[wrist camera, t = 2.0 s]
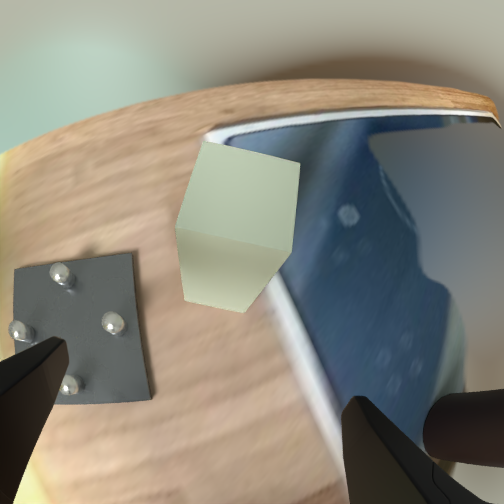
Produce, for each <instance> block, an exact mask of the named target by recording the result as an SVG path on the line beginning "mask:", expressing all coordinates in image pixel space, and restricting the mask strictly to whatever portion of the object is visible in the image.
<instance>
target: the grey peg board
mask: <svg viewBox="0 0 504 504" xmlns="http://www.w3.org/2000/svg"><path fill="white" fill-rule="evenodd" d="M13 313H14V321H12V322H11V323H10V325H9V334H10V336H11V337H12V338H13V339H14V341H15V354H17V353H19V352H21V351H23V350H25V349H27V348H29V347H31V346H33V345H36V344H38V343H40V342H42V341H44V340H46V339H48V338H50V337H52V336H57V337H60V338H62V339H64V340H65V341H66V343H67V348H68V354H69V365H68V368H67V371H66V373H65V376H64V379H63V381H62V384H61V387H60V390H59V392H58V395H57V398H56V401H55V403H54V404H104V403H121V402H134V401H146V400H151V399H152V398H151V393H150V388H149V382H148V377H147V371H146V366H145V360H144V353H143V347H142V340H141V333H140V325H139V317H138V309H137V300H136V290H135V279H134V266H133V255H132V253H127V254H119V255H112V256H104V257H97V258H90V259H83V260H75V261H68V262H56V263H54V264H47V265H40V266H34V267H27V268H20V269H15V271H14V299H13Z"/></svg>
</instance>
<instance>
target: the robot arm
mask: <svg viewBox="0 0 504 504" xmlns="http://www.w3.org/2000/svg"><path fill="white" fill-rule="evenodd" d="M68 365H69V354H68V348H67V343H66V341H65V340H64V339H62V338H60V337H57V336H52V337H50V338H48V339H46V340H44V341H42V342H40V343H38V344H36V345H33V346H31V347H29V348H27V349H25V350H23V351H21V352H19V353H17V354H15V355H13V356H11V357H9V358H7V359H5V360H3V361H1V362H0V504H13V501H14V499H15V496H16V493H17V491H18V488H19V485H20V482H21V480H22V477H23V474H24V472H25V469H26V467H27V464H28V462H29V459H30V457H31V454H32V452H33V450H34V447H35V445H36V443H37V440H38V438H39V436H40V434H41V431H42V429H43V427H44V425H45V423H46V420H47V418H48V416H49V414H50V412H51V410H52V408H53V406H54V403H55V401H56V398H57V395H58V392H59V390H60V387H61V384H62V381H63V379H64V376H65V373H66V371H67V368H68ZM341 423H342V444H343V459H344V466H345V472H346V479H347V486H348V493H349V500H350V504H492V503H488V502H485V501H483V500H481V499H480V498H478V497H477V496H476V495H474V494H473V493H471V492H470V491H469V490H467V489H465V487H463V486H462V485H461V484H459V483H458V482H457V481H455V480H454V479H453V478H452V477H450V476H449V475H448V474H447V473H446V472H445V471H444V470H442V469H441V468H440V467H439V466H438V465H437V464H436V463H435V462H433V461H432V460H431V459H430V458H429V457H428V456H427V455H426V454H425V453H424V452H423V451H422V450H421V449H420V448H419V447H418V446H417V445H416V444H415V443H413V442H412V441H411V440H410V439H409V438H408V437H407V436H406V435H405V434H404V433H403V432H402V431H401V430H400V429H399V428H398V427H397V426H396V425H395V424H394V423H393V422H392V421H390V420H389V419H388V418H387V417H386V416H385V415H384V414H383V413H382V412H381V411H380V410H379V409H378V408H377V407H376V406H375V405H374V404H373V403H372V402H371V401H370V400H369V399H368V398H367V397H365V396H353V397H352V398H351V399H350V401H349V402H348V404H347V405H346V407H345V408H344V410H343V412H342V415H341Z"/></svg>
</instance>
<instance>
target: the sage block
mask: <svg viewBox="0 0 504 504" xmlns="http://www.w3.org/2000/svg"><path fill="white" fill-rule="evenodd" d="M299 173H300V163H297V162H293V161H289V160H285V159H281V158H278V157H274V156H270V155H265V154H261V153H257V152H253V151H249V150H244V149H240V148H235V147H231V146H226V145H221V144H216V143H211V142H206V141H203V144H202V147H201V150H200V152H199V155H198V158H197V161H196V164H195V167H194V170H193V172H192V175H191V178H190V181H189V184H188V187H187V190H186V193H185V197H184V200H183V203H182V206H181V209H180V212H179V216H178V219H177V222H176V225H175V232H176V240H177V248H178V256H179V264H180V271H181V278H182V285H183V292H184V298H185V301H188V302H193V303H197V304H202V305H206V306H211V307H216V308H221V309H226V310H231V311H236V312H241V313H245V311H246V310H247V309H248V308H249V306H250V305H251V304H252V303H253V301H254V300H255V299H256V298H257V296H258V295H259V294H260V293H261V291H262V290H263V289H264V287H265V286H266V285H267V284H268V282H269V281H270V280H271V278H272V277H273V276H274V275H275V273H276V272H277V271H278V269H279V268H280V267H281V266H282V264H283V263H284V262H285V260H286V259H287V258H288V256H289V255H290V254H291V252H292V244H293V234H294V225H295V215H296V205H297V195H298V184H299Z"/></svg>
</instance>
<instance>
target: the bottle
mask: <svg viewBox="0 0 504 504" xmlns="http://www.w3.org/2000/svg"><path fill="white" fill-rule="evenodd" d="M423 443H424V446H425V449H426V451H427V452H428V453H429V455H430V456H432V457H435V458H437V459H442V460H448V461H454V462H460V463H466V464H473V465H481V466H490V467H501V468H504V389H498V390H490V391H480V392H468V393H453V394H449V395H446V396H444V397H442V398H441V399H440V400H439V401H437V402H436V403H435V405H434V406H433V408H432V409H431V411H430V412H429V415H428V417H427V419H426V422H425V426H424V431H423Z"/></svg>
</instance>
